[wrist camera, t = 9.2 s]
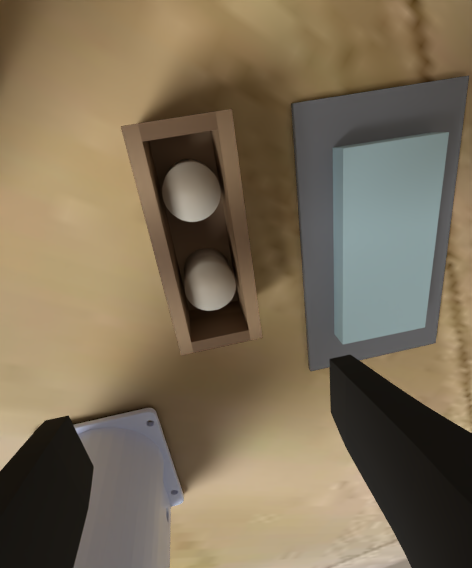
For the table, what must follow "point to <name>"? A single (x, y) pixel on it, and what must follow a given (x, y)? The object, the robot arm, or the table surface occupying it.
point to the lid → (385, 233)
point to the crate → (197, 226)
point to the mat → (319, 196)
